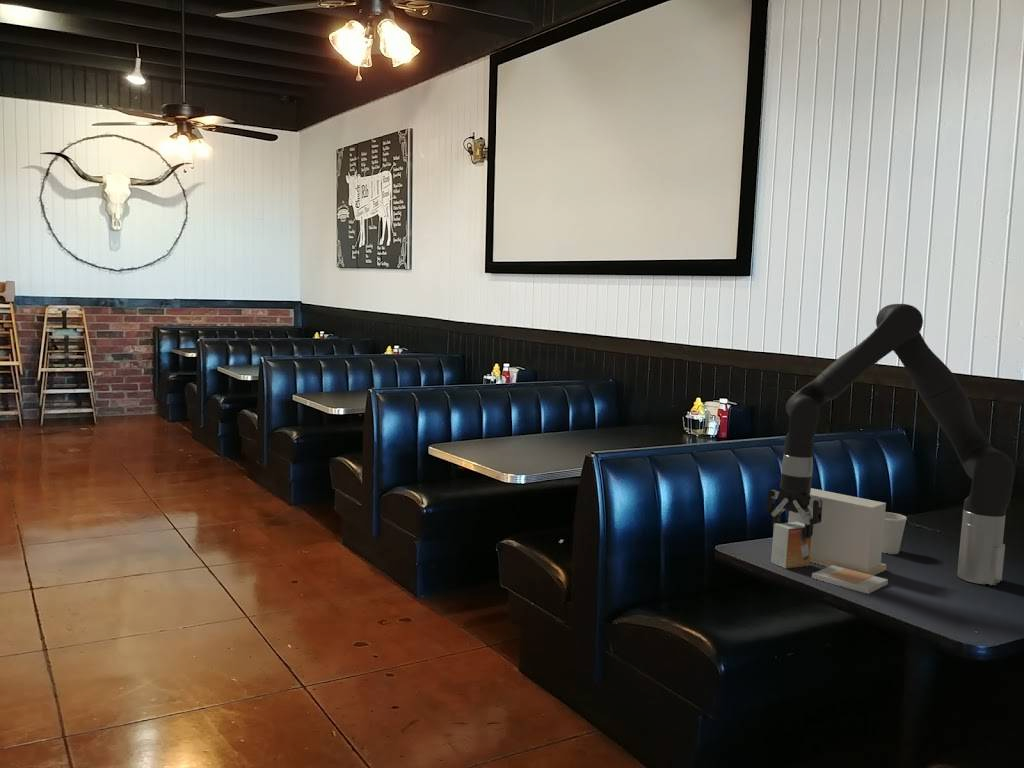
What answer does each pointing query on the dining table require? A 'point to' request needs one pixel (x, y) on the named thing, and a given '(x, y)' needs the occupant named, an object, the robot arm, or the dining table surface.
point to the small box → (790, 545)
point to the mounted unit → (847, 532)
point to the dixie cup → (893, 532)
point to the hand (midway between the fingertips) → (791, 534)
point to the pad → (850, 579)
